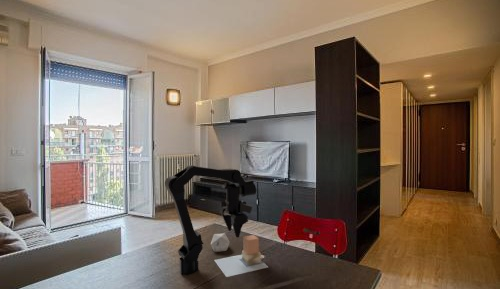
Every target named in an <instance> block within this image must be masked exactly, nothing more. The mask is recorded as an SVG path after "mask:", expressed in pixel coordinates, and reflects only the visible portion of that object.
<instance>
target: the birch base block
mask: <svg viewBox="0 0 500 289" xmlns="http://www.w3.org/2000/svg"><path fill="white" fill-rule="evenodd" d="M261 254H262V252H260V251H259V253H256V254H251V255H248V254H246V253H245V252H244V251H243V250H241V255H242V260H243V261H244V262H245V263H246V264H247V265H252V264H256V263H261V261H262V259H261V258H262V256H261Z"/></svg>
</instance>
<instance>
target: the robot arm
mask: <svg viewBox="0 0 500 289" xmlns="http://www.w3.org/2000/svg"><path fill="white" fill-rule="evenodd" d="M195 176H197V177H205V178H212V179H220V180H223V181H227V182H224V184H222V185H221V188H222V189H225V190H226V193H225V194H226V199H225V200H224V203H226V206H221V207H220V208H219V213H220V214H221V217H222V219H223V221H224V223H225V224H224V225H225V226H226V228H227V230H228V231H229V232H230V231H232V229H233V231H234V234H235V237H236V238H239V237H240V235H241V230H242V228H243V226H244V225H245V224H247V223H248V222H249V216H248V215H246V214H245V213H247V214H250V215H251V213H252V210H253V206H252V205H250V204H247V201H245V200H241V198H240V196H241V197H252V196H255V195H256V194H257V187H256V184H255V181H254V180H253V179H252V180H249V179H248V180H247V181H246V180H245V179H244V178H243V177H242V173H241V171H240V170H239V169H234V168H221V169H220V168H219V169H217V168H209V167H204V166H196V165H194V164H193V165H192V164H191V165H190V164H188V165H187V166H186V167H185V168H184V169H181V170H180V171H178V172H176V173H175V174H174V175H170V176H167V178H166V179H165V181H164V187H165V189H166V190H167V192H168V195H169V196H170V197H171V199H172V201H173V204H174V206H175V207H174V208H175V211H176V213H177V216H178V220H179V223H180V227H181V229H182V242H183V244H182V245H181V247H180V248H179V249H178V250H177V252H178V255H179V256H180V257H179V272H180V273H179V274H180V275H181V276H183V275H185V276H189V275H193V274H194V273H196V272H198V271H199V256H200V254H201V252H202V251H203V245H204V242H203V240H202V235H201V233H200V232H198V231H197V230H195V229H194V226H193V223H192V219H191V215H190V213H189V209H188V206H187V202H186V199H185V194H186V193H185V191H186V190H185V185H187V184H188V183H189V182H190V181H191V180H192V179H193V178H194V177H195ZM228 182H230V183H228ZM243 212H244V213H243Z"/></svg>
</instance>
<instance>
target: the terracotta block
mask: <svg viewBox="0 0 500 289" xmlns="http://www.w3.org/2000/svg"><path fill="white" fill-rule="evenodd" d="M259 239H260V238H259V237H258V236H256V235H255V234H252V235H251V234H250V235H246V236H243V237H242V240H243V243H242V244H243V245H242V246H243V248H242V249H243V251H244V252H245V253H246V254H248V255H251V254H256V253H259V252H260V240H259Z"/></svg>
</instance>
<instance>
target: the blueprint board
mask: <svg viewBox="0 0 500 289" xmlns="http://www.w3.org/2000/svg"><path fill="white" fill-rule="evenodd" d="M214 262H215V264H216V265H217V266H218V267H219V269H220V270H221V271H222V274H224V276H225V277H226V278H229V277H233V276H236V275H237V276H238V275H241V274H246V273H251V272H253V271H258V270H262V269H267V268H269V266H268V265H267V264H266V263H265V262H264V261H262V260H261V263H256V264H252V265H247V264H246V263H245V262H244V261H243V260H242V254H238V255H233V256H228V257H223V258H222V257H221V258H218V259H214Z"/></svg>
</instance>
